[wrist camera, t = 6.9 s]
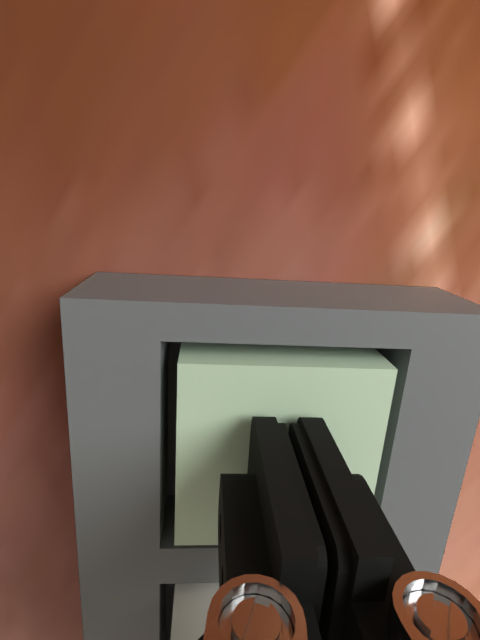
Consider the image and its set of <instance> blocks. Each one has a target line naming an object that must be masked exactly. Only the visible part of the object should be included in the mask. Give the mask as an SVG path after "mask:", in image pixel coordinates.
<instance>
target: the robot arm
mask: <svg viewBox="0 0 480 640" xmlns="http://www.w3.org/2000/svg"><path fill="white" fill-rule="evenodd" d="M218 559H219V589H218V590H217V592H216V593H215V595H214V596H213V597H212V600H211V603H210V606H209V609H208V612H207V619H206V625H205V632H204V634H203V635H202V636H201V637H200V638H199V639H198V640H480V602H479V601H478V600H477V599H476V598H475V597H474V596H473V595H472V594H471V593H470V592H469V591H468V590H466V589H465V588H464V587H462V586H461V585H459V584H458V583H456V582H455V581H453V580H451V579H449V578H446V577H444V576H442V575H440V574H436V573H432V572H428V571H415V569H414V567H413V565H412V563H411V562H410V560H409V558H408V556H407V554H406V553H405V551H404V549H403V547H402V545H401V543H400V542H399V540H398V538H397V536H396V534H395V533H394V531H393V529H392V527H391V525H390V524H389V522H388V520H387V518H386V516H385V514H384V513H383V511H382V509H381V507H380V505H379V504H378V502H377V500H376V498H375V496H374V495H373V493H372V491H371V489H370V487H369V485H368V484H367V482H366V480H365V479H364V477H363V476H362V475H360V474H352V473H351V472H350V470H349V468H348V466H347V464H346V462H345V460H344V458H343V456H342V454H341V452H340V450H339V448H338V446H337V444H336V442H335V440H334V438H333V437H332V435H331V433H330V431H329V429H328V427H327V425H326V423H325V421H324V419H323V418H321V417H299V418H298V420H297V423H290V426H289V432H287V429H286V426H285V423H278V422H277V419H276V417H258V416H253V417H252V420H251V431H250V444H249V457H248V470H247V474H221V475H220V486H219V505H218Z"/></svg>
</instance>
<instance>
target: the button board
mask: <svg viewBox="0 0 480 640" xmlns="http://www.w3.org/2000/svg"><path fill="white" fill-rule="evenodd" d="M60 312H61V326H62V340H63V354H64V369H65V383H66V397H67V411H68V426H69V440H70V454H71V468H72V483H73V497H74V511H75V525H76V540H77V554H78V568H79V582H80V597H81V611H82V625H83V639H84V640H170V638H171V626H172V614H173V603H174V591H175V584H179V583H219V559H218V545H174V537H175V479H176V422H177V364H178V358H179V353H180V347H181V342H197V343H229V344H260V345H292V346H324V347H356V348H375V349H376V350H377V351H378V352H379V353H381V354H382V355H383V356H384V357H385V358H386V359H387V360H388V361H389V362H390V363H391V364H392V365H393V366H394V367H396V368H397V369H398V371H397V376H396V382H395V387H394V392H393V398H392V403H391V408H390V414H389V419H388V424H387V430H386V435H385V440H384V445H383V451H382V456H381V461H380V467H379V472H378V477H377V483H376V488H375V493H374V496H375V498H376V500H377V502H378V504H379V505H380V507H381V509H382V511H383V513H384V514H385V516H386V518H387V520H388V522H389V524H390V525H391V527H392V529H393V531H394V533H395V534H396V536H397V538H398V540H399V542H400V543H401V545H402V547H403V549H404V551H405V553H406V554H407V556H408V558H409V560H410V562H411V563H412V565H413V567H414V569H415V571H428V572H432V573H436V574H438V573H439V570H440V566H441V562H442V558H443V554H444V550H445V547H446V543H447V539H448V535H449V531H450V527H451V524H452V520H453V516H454V512H455V508H456V505H457V501H458V497H459V493H460V489H461V485H462V482H463V478H464V474H465V470H466V466H467V462H468V459H469V455H470V451H471V447H472V443H473V439H474V436H475V432H476V428H477V424H478V420H479V417H480V305H479V304H476V303H474V302H471V301H469V300H466V299H464V298H462V297H459V296H457V295H454V294H452V293H449V292H447V291H445V290H442V289H440V288H437V287H418V286H396V285H374V284H352V283H330V282H308V281H287V280H265V279H243V278H221V277H199V276H177V275H155V274H133V273H111V272H96V273H94V274H93V275H92V276H90V277H89V278H87V279H86V280H84V281H83V282H82V283H80V284H79V285H77V286H76V287H74V288H73V289H72V290H70V291H69V292H67V293H66V294H64V295H63V296H62V297H60Z"/></svg>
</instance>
